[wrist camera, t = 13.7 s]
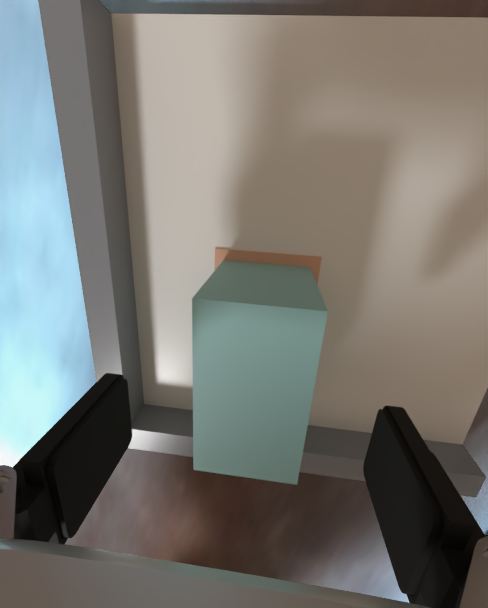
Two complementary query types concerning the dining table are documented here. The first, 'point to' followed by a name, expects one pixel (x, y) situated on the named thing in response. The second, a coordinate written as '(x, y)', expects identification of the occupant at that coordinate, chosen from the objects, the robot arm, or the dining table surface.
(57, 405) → the dining table surface
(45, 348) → the dining table surface
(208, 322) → the block
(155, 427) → the tray
